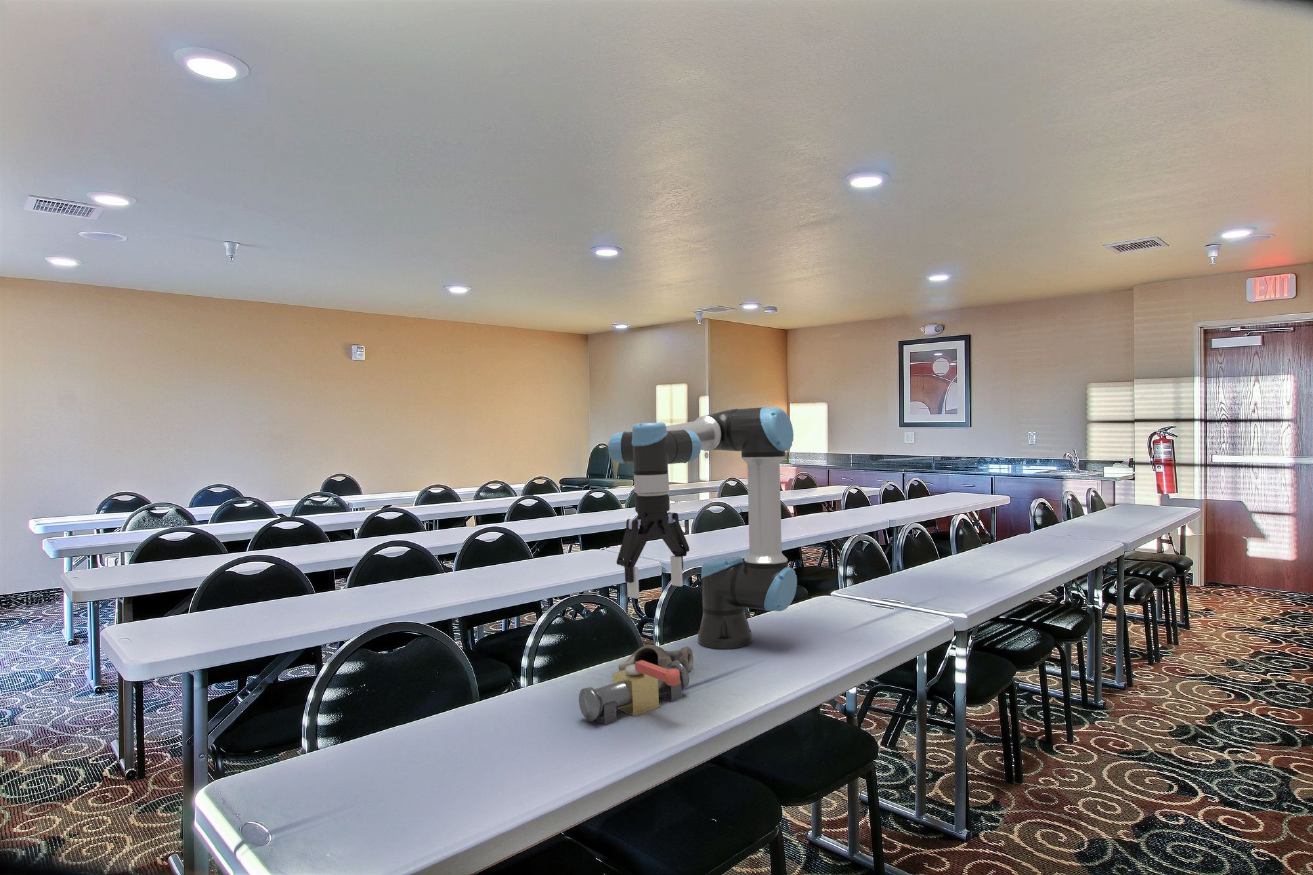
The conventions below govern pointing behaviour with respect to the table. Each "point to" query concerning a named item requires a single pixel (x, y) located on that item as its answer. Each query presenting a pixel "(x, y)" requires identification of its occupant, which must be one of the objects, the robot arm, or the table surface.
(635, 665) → the lever
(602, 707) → the valve pipe
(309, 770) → the table surface
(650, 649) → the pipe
